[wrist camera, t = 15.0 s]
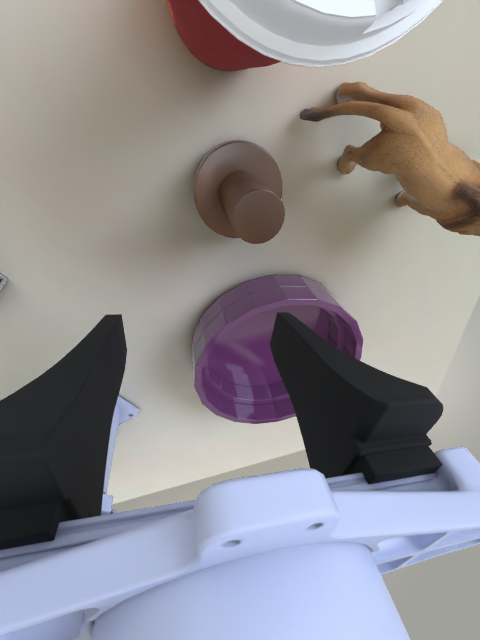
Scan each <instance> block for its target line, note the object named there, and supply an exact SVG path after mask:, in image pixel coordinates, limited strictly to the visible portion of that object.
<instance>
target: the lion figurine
mask: <svg viewBox="0 0 480 640" xmlns="http://www.w3.org/2000/svg"><path fill="white" fill-rule="evenodd" d="M336 97H337V102H338V103H339V104H336V105H333V106H329V107H326V108H323V109H316V108H310V109H305V110H303V111H302V112H301V113H300V118H301V119H303V120H310V121H316V122H318V121H320V120H322V119H325V118H328V117H332V116H336V115H360V116H365V117H369V118H372V119H375V120H377V121H380V122H381V124H380V127H381V129H382V131H381V132H380V133H379V134H377V135H376V136H374V137H373V138H372V139H371V140H369V141H368V142H366V143H365V144H364V145H362V146H361V147H355V146H352V145H348V146H347V147H346V148H345V149H344V152H343V154H342V156H341V158H340V160H339V164H338V167H339V170H340V172H341V173H342V174H349V173H350V172H351V171H353V169H354V168H355V166H356V164H359V165H361V166H362V167H364V168H366V169H368V170H371V171H380V172H382V173H385V174H396V176H397V178H398V180H399V183H400V185H401V186H402V188H403V189H404V191H402V192H401V193H400V194H399V195H398V196H397V201H396V203H397V205H398V206H399V207H403V206H405V205H408V206H409V207H411V208H412V209H414V210H416V211H417V212H419V213H420V214H423V215H428V216H430V217H432V218H434V219H436V221H437V222H438V223H439V224H440V225H441V226H442V227H443V228H445V229H447V230H449V231H452V232H458V233H459V234H463V235H464V234H465V235H476V236H480V163H478V162H477V161H475V160H471V159H470V158H469V157H468V155H466V154H465V153H464V152H463V151H461V150H460V149H459V148H458V147H456V146H454V145H452V144H451V143H449V141H448V138H447V131H446V127H445V123H444V121H443V118H442V116H441V114H440V113H439V112H438V111H437V110H436V109H434V108H433V107H431V106H430V105H428V104H427V103H425V102H423V101H421V100H419V99H417V98H414V97H412V96H408V95H395V94H387V93H383V92H380V91H378V90H375V89H373V88H371V87H369V86H368V85H367V84H366V83H363V82H356V83H343V84H342V85H341V86H340V88H339V89H338V92H337V95H336Z"/></svg>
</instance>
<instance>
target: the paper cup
mask: <svg viewBox="0 0 480 640" xmlns="http://www.w3.org/2000/svg"><path fill="white" fill-rule="evenodd" d="M442 1H443V0H167V3H168V7H169V10H170V13H171V16H172V19H173V22H174V24H175V27H176V29H177V31H178V33H179V35H180V37H181V39H182V40H183V42H184V44H185V45H186V46H187V48H188V49H189V50H190V51H191V53H192V54H193V55H194V56H195V57H196V58H197V59H199V60H200V61H201V62H202V63H204V64H206V65H207V66H209V67H211V68H214V69H217V70H222V71H237V70H243V69H248V68H255V67H264V66H269V65H272V64H275V63H278V62H281V61H282V62H284V63H287V64H290V65H298V66H307V67H315V68H317V67H326V66H336V65H343V64H346V63H349V62H352V61H355V60H358V59H361V58H364V57H368V56H370V55H372V54H374V53H376V52H377V51H379V50H381V49H383V48H385V47H387V46H388V45H390V44H392V43H394V42H396V41H397V40H398V39H400V38H401V37H402V36H404V35H405V34H406V33H408V32H409V31H410V30H411V29H413V28H414V27H415V26H417V25H418V24H419V23H421V22H422V21H423V20H424V19H425V18H426V17H427V16H428V15H429V14H430V13H431V12H432V11H433V10H434V9H435V8H436V7H437V6H438V5H439V4H440V3H441V2H442Z"/></svg>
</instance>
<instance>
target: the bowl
mask: <svg viewBox="0 0 480 640" xmlns="http://www.w3.org/2000/svg"><path fill="white" fill-rule="evenodd" d="M277 312H289V313H290V314H292V315H293V316H295V317H296V318H297V319H299V320H300V321H301V322H302V323H304V324H305V325H306V326H308V327H309V328H310V329H311V330H313V331H314V332H315V333H317V334H318V335H319V336H321V337H322V338H323V339H325V340H326V341H328V342H329V343H331V344H332V345H334V346H335V347H337V348H338V349H340V350H341V351H343V352H345V353H347V354H348V355H350V356H352V357H354V358H355V359H357V360H359V361H360V359H361V354H362V345H363V337H362V335H361V332H360V329H359V326H358V323H357V321H356V320H355V319H354V318H353V316H352V315H351V314H350V313H349V312H348V311H347V310H346V308H345V307H344V306H343V305H342V304H341V303H340V302H339V301H338V299H337V298H336V297H335V296H334V295H333V294H332V293H331V292H329V291H328V290H327V289H326V288H325V287H324V286H323V285H322V284H321V283H318V282H316V281H313V280H310V279H307V278H305V277H302V276H298V275H269V276H266V277H262V278H258V279H255V280H251V281H247V282H244V283H242V284H241V285H239V286H237V287H235V288H234V289H232V290H230V291H229V292H227V293H225V294H224V295H222V296H220V298H218V299H217V300H216V301H215V303H214V304H213V305H212V306H211V307H210V308H209V309H208V310H207V311H206V312H205V313H204V314H203V315H202V317H201V319H200V321H199V323H198V325H197V328H196V330H195V332H194V334H193V337H192V363H193V375H194V386H195V389H196V391H197V393H198V396H199V398H200V400H201V402H202V404H204V405H205V406H206V407H207V408H208V409H210V410H211V411H212V412H213V413H214V414H216V415H217V416H220V417H223V418H226V419H228V420H231V421H234V422H241V423H251V424H259V423H269V422H277V421H281V420H285V419H288V418H291V417H295V416H296V413H295V410H294V407H293V404H292V402H291V399H290V397H289V394H288V392H287V390H286V387H285V385H284V383H283V381H282V378H281V376H280V374H279V371H278V369H277V367H276V364H275V362H274V359H273V355H272V351H271V347H270V341H271V336H272V332H273V328H274V323H275V319H276V315H277Z"/></svg>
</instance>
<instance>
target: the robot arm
mask: <svg viewBox="0 0 480 640" xmlns="http://www.w3.org/2000/svg"><path fill="white" fill-rule="evenodd" d="M270 347H271V351H272V355H273V359H274V362H275V364H276V367H277V369H278V371H279V374H280V376H281V378H282V381H283V383H284V385H285V387H286V390H287V392H288V394H289V397H290V399H291V402H292V404H293V407H294V410H295V413H296V417H297V420H298V423H299V427H300V430H301V434H302V437H303V441H304V445H305V449H306V453H307V457H308V460H309V465H310V469H295V470H289V471H282V472H276V473H269V474H262V475H255V476H249V477H242V478H236V479H230V480H226V481H222V482H219V483H215V484H213V485H211V486H210V487H208V488H206V489H204V490H203V491H202V492H201V493H200V494H199V496H198V497H197V499H196V500H193V501H187V502H181V503H174V504H168V505H162V506H156V507H150V508H144V509H138V510H133V511H126V512H120V513H119V512H118V511H117V510H114V509H111V508H112V502H113V496H112V495H106V493H107V488H108V482H109V476H110V471H111V465H112V459H113V453H114V448H115V442H116V436H117V430H118V425H120V424H122V423H124V422H125V421H127V420H129V419H131V418H133V417H135V416H136V415H138V414H139V409H138V408H136V407H135V406H133V405H132V404H130V403H129V402H127V401H125V400H124V399H122V398H121V397H119V396H118V395H119V391H120V387H121V383H122V379H123V375H124V371H125V363H126V354H127V347H126V341H125V334H124V328H123V322H122V315H106V316H104V317H103V319H102V320H101V321H100V322H99V323H98V324H97V325H96V326H95V327H94V328H93V329H92V330H91V332H90V333H89V334H88V335H87V336H86V337H85V338H84V339H83V340H82V341H81V342H80V343H79V344H78V345H77V346H76V347H75V348H74V349H72V350H71V351H70V352H69V353H68V354H67V355H66V356H65V357H64V358H62V359H61V360H60V361H59V362H58V363H56V364H55V365H54V366H53V367H51V368H50V369H49V370H47V371H46V372H45V373H43V374H42V375H41V376H39V377H38V378H36V379H35V380H33V381H32V382H30V383H28V384H27V385H25V386H24V387H22V388H21V389H19V390H18V391H16V392H15V393H13V394H11V395H9V396H8V397H6V398H4V399H3V400H1V401H0V640H410V638H409V636H408V634H407V631H406V629H405V627H404V625H403V623H402V621H401V619H400V616H399V614H398V612H397V609H396V607H395V605H394V603H393V601H392V598H391V597H390V594H389V592H388V590H387V588H386V586H385V584H384V581H383V579H382V577H381V575H382V574H385V573H387V572H391V571H394V570H397V569H400V568H402V567H406V566H409V565H412V564H415V563H418V562H421V561H424V560H427V559H430V558H433V557H437V556H440V555H443V554H446V553H450V552H453V551H456V550H459V549H464V548H467V547H471V546H474V545H478V544H480V464H479V462H478V461H477V460H476V459H475V458H474V457H473V455H472V454H470V452H469V451H468V450H467V449H466V448H465V447H462V446H461V447H456V448H449V449H443V450H440V451H437V452H435V453H433V452H432V450H431V449H430V448H429V446H430V445H431V444H432V443H431V440H430V439H429V438H428V436H427V435H426V434H427V432H428V431H429V430H430V429H431V428H432V427H433V425H434V424H435V423H436V422H437V421H438V420H439V418H440V417H441V415H442V412H443V405H442V403H441V402H440V401H439V400H438V399H437V398H436V397H435V396H434V395H433V393H432V392H431V391H430V390H429V389H428V388H427V387H424V386H421V385H418V384H415V383H412V382H409V381H406V380H403V379H400V378H397V377H395V376H392V375H390V374H387V373H385V372H382V371H380V370H378V369H376V368H373V367H371V366H369V365H367V364H365V363H363V362H361V361H359V360H357V359H355V358H354V357H352V356H350V355H348V354H347V353H345V352H343V351H341V350H340V349H338V348H337V347H335V346H334V345H332V344H331V343H329V342H328V341H326V340H325V339H323V338H322V337H321V336H319V335H318V334H317V333H315V332H314V331H313V330H311V329H310V328H309V327H308V326H306V325H305V324H304V323H302V322H301V321H300V320H299V319H297V318H296V317H295V316H293V315H292V314H290V313H289V312H277V315H276V319H275V323H274V328H273V332H272V336H271V341H270Z"/></svg>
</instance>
